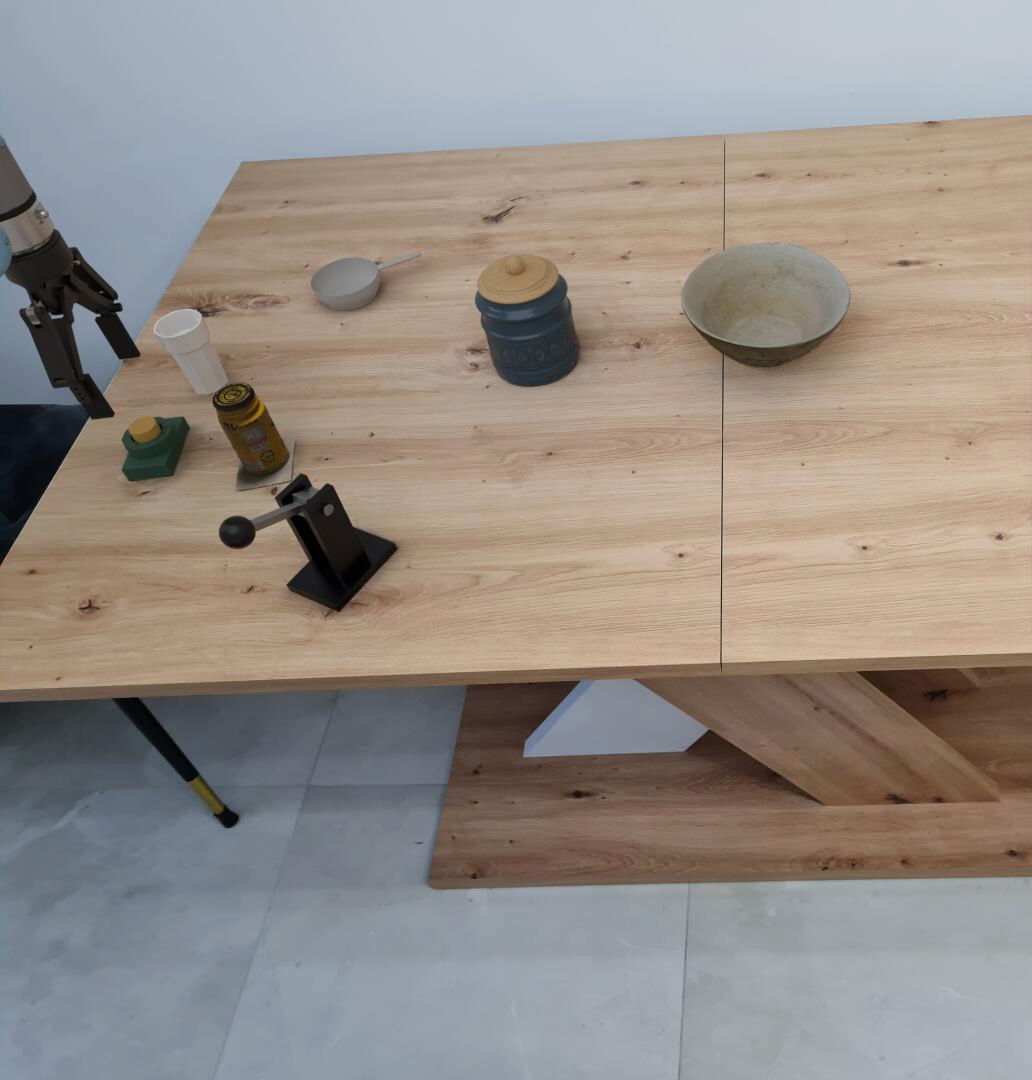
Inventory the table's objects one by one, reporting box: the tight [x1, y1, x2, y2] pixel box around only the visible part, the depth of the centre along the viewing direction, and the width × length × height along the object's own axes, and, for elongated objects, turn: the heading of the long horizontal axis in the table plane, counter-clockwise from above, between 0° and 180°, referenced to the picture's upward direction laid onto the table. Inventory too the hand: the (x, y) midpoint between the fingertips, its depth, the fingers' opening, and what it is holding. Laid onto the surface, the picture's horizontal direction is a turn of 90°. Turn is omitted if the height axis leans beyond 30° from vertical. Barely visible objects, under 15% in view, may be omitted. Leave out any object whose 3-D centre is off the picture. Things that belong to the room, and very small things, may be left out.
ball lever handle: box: [218, 486, 320, 550], centre depth 116 cm, size 13×4×4 cm, turn 152°
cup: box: [153, 308, 230, 395], centre depth 152 cm, size 7×7×11 cm
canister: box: [474, 253, 581, 387], centre depth 148 cm, size 13×13×18 cm
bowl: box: [680, 242, 851, 369], centre depth 149 cm, size 24×24×10 cm
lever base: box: [274, 472, 398, 613], centre depth 124 cm, size 11×8×14 cm
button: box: [128, 416, 161, 443], centre depth 143 cm, size 4×4×2 cm
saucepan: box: [309, 250, 422, 311], centre depth 169 cm, size 11×18×4 cm, turn 114°
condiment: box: [212, 382, 295, 491], centre depth 139 cm, size 7×8×12 cm
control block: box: [121, 415, 191, 482], centre depth 145 cm, size 10×6×4 cm, turn 6°
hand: (117, 385), depth 137 cm, fingers open, 11 cm apart
